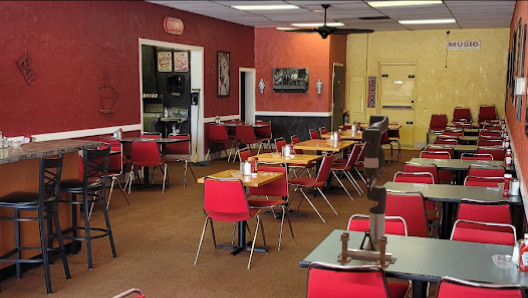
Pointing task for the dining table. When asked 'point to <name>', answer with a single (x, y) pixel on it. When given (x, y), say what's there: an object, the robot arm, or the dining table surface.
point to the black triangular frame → (369, 240)
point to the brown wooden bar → (368, 254)
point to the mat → (370, 259)
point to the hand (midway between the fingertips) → (370, 195)
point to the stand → (346, 259)
